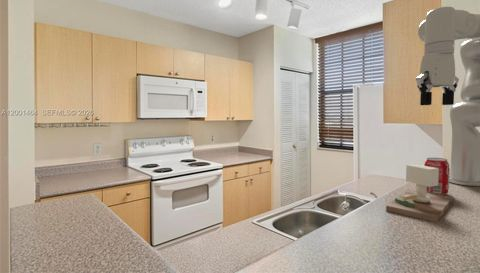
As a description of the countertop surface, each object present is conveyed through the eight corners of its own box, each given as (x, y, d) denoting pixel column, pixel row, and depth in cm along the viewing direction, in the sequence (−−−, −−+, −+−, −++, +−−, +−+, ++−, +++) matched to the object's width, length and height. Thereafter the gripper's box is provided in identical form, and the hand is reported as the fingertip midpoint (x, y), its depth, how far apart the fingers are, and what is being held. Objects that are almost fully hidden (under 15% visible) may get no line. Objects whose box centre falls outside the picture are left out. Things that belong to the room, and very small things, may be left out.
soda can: (439, 190, 95) (441, 157, 94) (453, 196, 88) (455, 160, 87) (419, 190, 96) (420, 157, 95) (431, 196, 89) (432, 160, 88)
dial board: (408, 194, 92) (408, 186, 92) (452, 201, 83) (453, 193, 83) (386, 210, 77) (386, 202, 77) (436, 222, 68) (437, 212, 68)
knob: (415, 196, 84) (416, 164, 83) (438, 202, 77) (439, 168, 76) (393, 199, 81) (394, 166, 80) (415, 206, 74) (416, 170, 73)
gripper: (445, 54, 90) (444, 105, 91) (407, 51, 84) (405, 105, 86) (471, 48, 82) (468, 104, 84) (430, 45, 77) (428, 104, 79)
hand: (436, 105), depth 85 cm, fingers open, 9 cm apart
